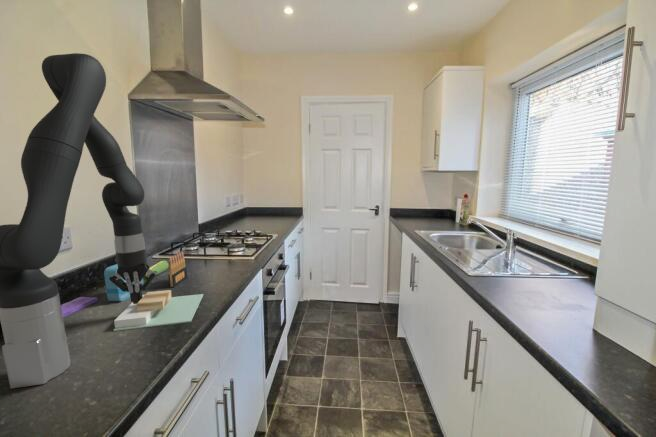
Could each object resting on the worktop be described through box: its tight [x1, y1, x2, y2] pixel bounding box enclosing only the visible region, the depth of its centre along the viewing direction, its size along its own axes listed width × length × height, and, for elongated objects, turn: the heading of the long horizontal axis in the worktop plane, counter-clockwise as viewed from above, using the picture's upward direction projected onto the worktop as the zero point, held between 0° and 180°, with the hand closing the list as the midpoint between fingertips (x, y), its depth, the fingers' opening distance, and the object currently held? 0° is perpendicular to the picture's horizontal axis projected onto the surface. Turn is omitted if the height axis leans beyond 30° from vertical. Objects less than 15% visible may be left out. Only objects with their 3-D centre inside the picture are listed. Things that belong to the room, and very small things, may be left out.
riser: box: [113, 294, 157, 329], centre depth 93 cm, size 18×8×2 cm, turn 13°
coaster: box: [137, 289, 173, 312], centre depth 93 cm, size 9×7×2 cm
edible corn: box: [143, 259, 169, 283], centre depth 129 cm, size 5×20×5 cm, turn 2°
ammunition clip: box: [168, 250, 189, 289], centre depth 118 cm, size 11×2×12 cm, turn 179°
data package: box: [103, 263, 145, 302], centre depth 106 cm, size 12×4×12 cm, turn 174°
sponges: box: [61, 296, 98, 318], centre depth 97 cm, size 7×13×2 cm, turn 170°
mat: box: [113, 293, 204, 332], centre depth 94 cm, size 20×20×1 cm
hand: (137, 302), depth 92 cm, fingers closed
